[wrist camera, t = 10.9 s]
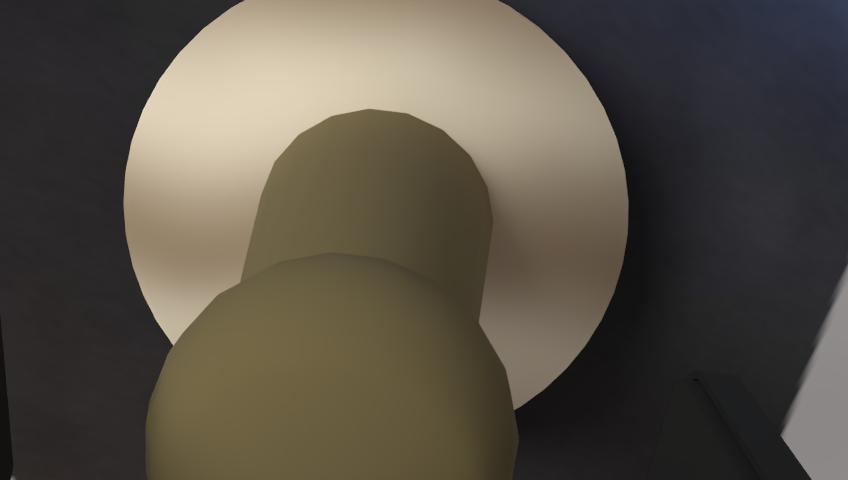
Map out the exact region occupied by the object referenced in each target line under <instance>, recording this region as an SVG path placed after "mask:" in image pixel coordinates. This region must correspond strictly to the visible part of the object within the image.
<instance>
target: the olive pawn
mask: <svg viewBox="0 0 848 480" xmlns="http://www.w3.org/2000/svg"><path fill="white" fill-rule="evenodd" d="M492 228H493V217H492V211H491V205H490V199H489V194H488V188H487V185H486V184H485V182H484V180H483V178H482V176H481V174H480V173H479V171H478V169H477V167H476V165H475V163H474V162H473V160H472V158H471V156H470V155H469V154H468V153H467V152H466V151H465V150H464V149H463V148H462V147H461V146H460V145H459V144H457V143H456V142H455V141H454V140H453V139H452V138H451V137H450V136H449V135H448V134H447V133H446V132H445V131H443V130H442V129H440V128H438V127H436V126H434V125H432V124H429V123H427V122H425V121H423V120H421V119H419V118H416V117H414V116H412V115H410V114H408V113H400V112H392V111H384V110H376V109H365V110H360V111H354V112H349V113H344V114H339V115H334V116H331V117H329V118H327V119H325V120H323V121H322V122H320V123H318V124H316V125H315V126H313V127H311V128H309V129H308V130H306V131H304V132H302V133H300V134H299V135H298V136H297V137H296V138H295V139H294V140H293V142H292V143H291V144H290V145H289V146H288V147H287V148H286V149H285V151H284V152H283V153H282V154H281V155H280V156H279V157H278V158H277V160H276V161H275V162H274V164H273V167H272V169H271V172H270V174H269V177H268V179H267V182H266V184H265V186H264V189H263V191H262V194H261V197H260V201H259V206H258V210H257V214H256V218H255V222H254V226H253V230H252V234H251V239H250V243H249V247H248V251H247V255H246V259H245V263H244V267H243V272H242V276H241V280H240V283H238V284H237V285H235V286H233V287H231V288H229V289H227V290H225V291H224V292H222V293H220V294H218V295H217V296H216V297H215V298H214V299H213V300H212V301H211V303H210V304H209V305H208V306H207V307H206V308H205V309H204V310H203V311H202V312H201V313H200V315H199V316H198V317H197V318H196V319H195V320H194V321H193V322H192V323H191V324H190V325H189V327H188V328H187V329H186V330H185V331H184V332H183V333H182V335H181V336H180V337H179V339H178V340H177V342H176V343H175V344H174V346H173V347H172V349H171V350H170V352H169V353H168V356H167V358H166V361H165V363H164V366H163V369H162V371H161V374H160V376H159V379H158V381H157V384H156V386H155V389H154V391H153V394H152V396H151V399H150V403H149V409H148V415H147V421H146V476H147V478H148V480H512V474H513V469H514V464H515V459H516V454H517V449H518V444H519V435H518V430H517V424H516V419H515V413H514V407H513V402H512V396H511V391H510V386H509V382H508V377H507V373H506V368H505V367H504V365H503V363H502V362H501V360H500V358H499V357H498V355H497V353H496V351H495V350H494V348H493V346H492V345H491V343H490V341H489V339H488V338H487V336H486V334H485V333H484V331H483V329H482V328H481V326H480V324H479V318H480V311H481V304H482V297H483V290H484V283H485V276H486V269H487V262H488V255H489V249H490V242H491V235H492Z"/></svg>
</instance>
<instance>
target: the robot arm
mask: <svg viewBox="0 0 848 480" xmlns="http://www.w3.org/2000/svg"><path fill="white" fill-rule="evenodd" d="M12 470H13V457H12V446H11V434H10V422H9V411H8V399H7V388H6V376H5V364H4V353H3V341H2V330H1V318H0V480H10V479H11V475H12ZM647 480H811V478H810V477H809V475H808V474H807V472H806V471H805V470H804V469H803V467H802V465H801V464H800V463H799V461H798V460H797V459H796V457H795V456H794V454H793V453H792V452H791V450H790V449H789V447H788V446H787V444H786V443H785V442H784V440H783V439H782V437H781V436H780V435H779V433H778V432H777V430H776V429H775V427H774V426H773V425H772V423H771V422H770V420H769V419H768V418H767V416H766V415H765V413H764V412H763V411H762V409H761V408H760V406H759V405H758V404H757V402H756V401H755V399H754V398H753V397H752V395H751V394H750V392H749V391H748V390H747V388H746V387H745V385H744V384H743V382H742V381H741V380H740V379H739V378H738V377H737V376H736V375H730V374H721V373H712V372H704V371H693V372H692V373H691V374H690V375H689V376H688V378H687V380H684V379H679V380H678V381H677V382H676V383H675V385H674V388H673V391H672V394H671V398H670V401H669V405H668V408H667V412H666V415H665V418H664V422H663V425H662V429H661V432H660V436H659V439H658V443H657V446H656V450H655V453H654V457H653V460H652V463H651V467H650V470H649V474H648V477H647Z"/></svg>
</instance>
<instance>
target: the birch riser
mask: <svg viewBox="0 0 848 480" xmlns="http://www.w3.org/2000/svg"><path fill="white" fill-rule="evenodd" d="M365 109H376V110H384V111H392V112H400V113H408V114H410V115H412V116H414V117H416V118H419V119H421V120H423V121H425V122H427V123H429V124H432V125H434V126H436V127H438V128H440V129H442V130H443V131H445V132H446V133H447V134H448V135H449V136H450V137H451V138H452V139H453V140H454V141H455V142H456V143H457V144H459V145H460V146H461V147H462V148H463V149H464V150H465V151H466V152H467V153H468V154H469V155H470V156H471V158H472V160H473V162H474V163H475V165H476V167H477V169H478V171H479V173H480V174H481V176H482V178H483V180H484V182H485V184H486V185H487V188H488V194H489V199H490V205H491V211H492V217H493V228H492V235H491V242H490V249H489V255H488V262H487V269H486V276H485V283H484V290H483V297H482V304H481V311H480V318H479V324H480V326H481V328H482V329H483V331H484V333H485V334H486V336H487V338H488V339H489V341H490V343H491V345H492V346H493V348H494V350H495V351H496V353H497V355H498V357H499V358H500V360H501V362H502V363H503V365H504V367H505V368H506V373H507V377H508V382H509V386H510V391H511V396H512V402H513V407H514V410H515V409H517V408H519V407H521V406H522V405H523V404H525V403H526V402H528V401H529V400H530V399H532V398H533V397H534V396H536V395H537V394H538V393H540V392H541V391H543V390H544V389H545V388H546V387H547V386H548V385H549V384H551V383H552V382H553V381H554V380H555V379H556V378H557V377H558V376H559V375H560V374H561V373H562V372H563V371H564V370H565V369H566V368H567V367H568V366H569V365H570V364H571V362H572V361H573V360H574V359H575V358H576V356H577V355H578V354H579V353H580V351H581V350H582V349H583V348H584V347H585V345H586V344H587V342H588V341H589V339H590V337H591V336H592V334H593V333H594V331H595V330H596V328H597V326H598V325H599V323H600V322H601V320H602V318H603V316H604V313H605V311H606V309H607V307H608V305H609V302H610V300H611V298H612V296H613V294H614V291H615V288H616V284H617V281H618V278H619V275H620V271H621V268H622V265H623V260H624V253H625V247H626V241H627V235H628V193H627V185H626V176H625V169H624V165H623V161H622V157H621V154H620V150H619V146H618V142H617V138H616V136H615V134H614V131H613V129H612V126H611V124H610V122H609V119H608V117H607V115H606V112H605V110H604V107H603V106H602V104H601V102H600V101H599V99H598V97H597V96H596V94H595V92H594V91H593V89H592V87H591V86H590V84H589V82H588V81H587V79H586V78H585V76H584V75H583V74H582V73H581V71H580V70H579V69H578V68H577V66H576V65H575V64H574V63H573V61H572V60H571V59H570V58H569V56H568V55H567V54H566V53H565V51H564V50H562V49H561V48H560V47H559V46H558V45H557V44H556V43H555V42H554V41H553V40H552V39H551V38H550V37H549V36H548V35H547V34H546V33H544V32H543V31H542V30H541V29H540V28H539V27H538V26H536V25H535V24H534V23H532V22H531V21H529V20H528V19H527V18H525V17H524V16H522V15H521V14H519V13H518V12H517V11H515V10H514V9H512V8H511V7H510V6H508V5H506V4H504V3H502V2H500V1H498V0H245V1H243V2H241V3H239V4H237V5H236V6H234V7H232V8H230V9H229V10H228V11H226V12H225V13H224V14H222V15H221V16H220V17H218V18H217V19H216V20H214V21H213V22H212V23H210V24H209V25H208V26H206V27H205V28H204V29H203V30H202V31H201V32H200V33H199V34H198V35H197V36H196V37H195V38H194V39H193V40H192V41H191V42H190V43H189V44H188V45H187V46H186V47H185V48H184V49H183V50H182V51H181V52H180V53H179V54H178V55H177V57H176V58H175V59H174V61H173V62H172V63H171V65H170V66H169V67H168V69H167V70H166V71H165V73H164V74H163V75H162V77H161V78H160V80H159V81H158V83H157V85H156V87H155V89H154V90H153V92H152V94H151V96H150V98H149V100H148V102H147V103H146V105H145V107H144V109H143V112H142V114H141V117H140V120H139V123H138V125H137V128H136V131H135V134H134V136H133V139H132V143H131V148H130V153H129V158H128V163H127V167H126V173H125V189H124V215H125V228H126V237H127V242H128V246H129V251H130V256H131V260H132V265H133V268H134V271H135V273H136V276H137V279H138V282H139V284H140V287H141V290H142V293H143V295H144V297H145V299H146V301H147V303H148V305H149V307H150V309H151V311H152V313H153V315H154V317H155V319H156V321H157V322H158V324H159V325H160V327H161V328H162V329H163V331H164V332H165V334H166V335H167V337H168V338H169V340H170V341H171V343H172V344H173V346H174V344H175V343H176V342H177V340H178V339H179V337H180V336H181V335H182V333H183V332H184V331H185V330H186V329H187V328H188V327H189V325H190V324H191V323H192V322H193V321H194V320H195V319H196V318H197V317H198V316H199V315H200V313H201V312H202V311H203V310H204V309H205V308H206V307H207V306H208V305H209V304H210V303H211V301H212V300H213V299H214V298H215V297H216V296H217V295H218V294H220V293H222V292H224V291H225V290H227V289H229V288H231V287H233V286H235V285H237V284H238V283H240V280H241V276H242V272H243V267H244V263H245V259H246V255H247V251H248V247H249V243H250V239H251V234H252V230H253V226H254V222H255V218H256V214H257V210H258V206H259V201H260V197H261V194H262V191H263V189H264V186H265V184H266V182H267V179H268V177H269V174H270V172H271V169H272V167H273V164H274V162H275V161H276V160H277V158H278V157H279V156H280V155H281V154H282V153H283V152H284V151H285V149H286V148H287V147H288V146H289V145H290V144H291V143H292V142H293V140H294V139H295V138H296V137H297V136H298V135H299V134H300V133H302V132H304V131H306V130H308V129H309V128H311V127H313V126H315V125H316V124H318V123H320V122H322V121H323V120H325V119H327V118H329V117H331V116H334V115H339V114H344V113H349V112H354V111H360V110H365Z"/></svg>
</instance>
